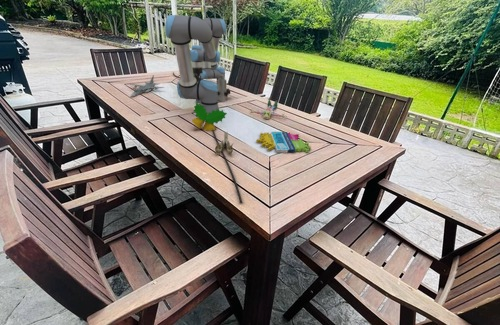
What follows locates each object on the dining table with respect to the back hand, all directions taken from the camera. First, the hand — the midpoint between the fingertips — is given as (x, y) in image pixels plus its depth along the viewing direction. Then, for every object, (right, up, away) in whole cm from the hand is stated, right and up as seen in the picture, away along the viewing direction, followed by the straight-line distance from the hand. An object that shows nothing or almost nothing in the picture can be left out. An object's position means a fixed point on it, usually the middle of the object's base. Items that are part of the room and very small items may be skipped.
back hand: (222, 94), depth 212 cm
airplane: (-69, +7, +17) cm, 71 cm away
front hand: (-19, -2, -4) cm, 19 cm away
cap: (-19, -5, -2) cm, 20 cm away
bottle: (-1, -3, +7) cm, 8 cm away
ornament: (-3, -34, -48) cm, 59 cm away
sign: (+41, -44, -60) cm, 85 cm away
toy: (+37, -18, -15) cm, 44 cm away
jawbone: (+9, -49, -74) cm, 89 cm away
